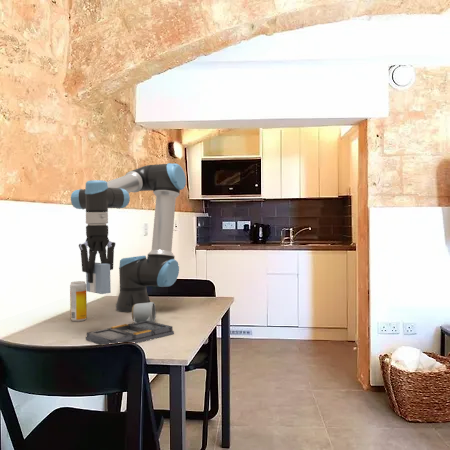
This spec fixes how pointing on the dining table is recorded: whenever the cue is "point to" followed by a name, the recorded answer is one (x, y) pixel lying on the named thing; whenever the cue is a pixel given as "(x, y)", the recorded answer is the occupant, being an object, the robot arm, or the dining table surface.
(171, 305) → the dining table surface
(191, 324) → the dining table surface
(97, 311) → the dining table surface
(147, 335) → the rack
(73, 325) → the dining table surface
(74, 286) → the beer can
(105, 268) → the blue-grey rectangular block
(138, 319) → the ceramic mug
